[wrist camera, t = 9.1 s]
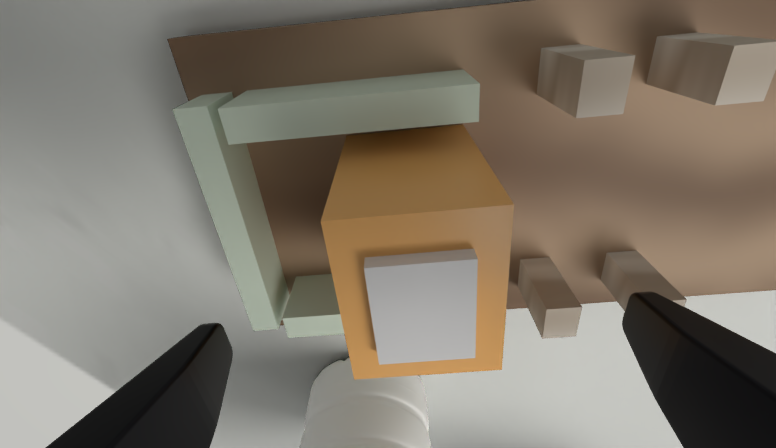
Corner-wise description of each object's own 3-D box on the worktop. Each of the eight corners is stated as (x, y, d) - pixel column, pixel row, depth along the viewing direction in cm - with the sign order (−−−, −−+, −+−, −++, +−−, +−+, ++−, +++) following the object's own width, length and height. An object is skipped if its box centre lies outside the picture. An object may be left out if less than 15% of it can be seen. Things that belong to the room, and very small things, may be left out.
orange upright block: (462, 246, 15) (505, 382, 10) (364, 255, 16) (352, 392, 10) (462, 124, 13) (520, 213, 7) (346, 135, 13) (317, 231, 8)
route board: (783, 270, 18) (886, 340, 14) (272, 308, 19) (244, 382, 15) (949, -44, 12) (1203, -66, 8) (185, 36, 13) (104, 49, 9)
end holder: (461, 282, 16) (473, 325, 14) (267, 297, 17) (249, 340, 15) (463, 69, 12) (480, 83, 10) (201, 95, 12) (163, 114, 10)
